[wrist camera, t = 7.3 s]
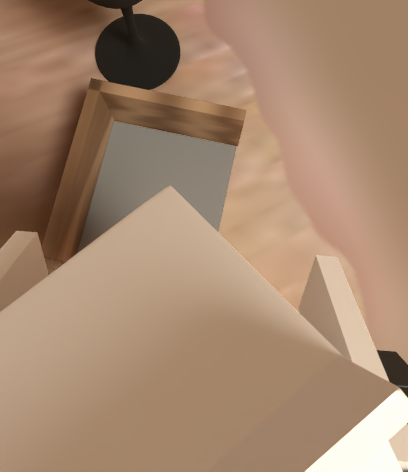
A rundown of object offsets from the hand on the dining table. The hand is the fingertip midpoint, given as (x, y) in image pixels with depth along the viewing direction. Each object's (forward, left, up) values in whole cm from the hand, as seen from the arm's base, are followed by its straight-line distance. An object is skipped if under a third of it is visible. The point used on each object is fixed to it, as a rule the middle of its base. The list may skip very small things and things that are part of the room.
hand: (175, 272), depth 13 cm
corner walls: (-6, +8, -25) cm, 27 cm away
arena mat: (-6, +8, -25) cm, 27 cm away
